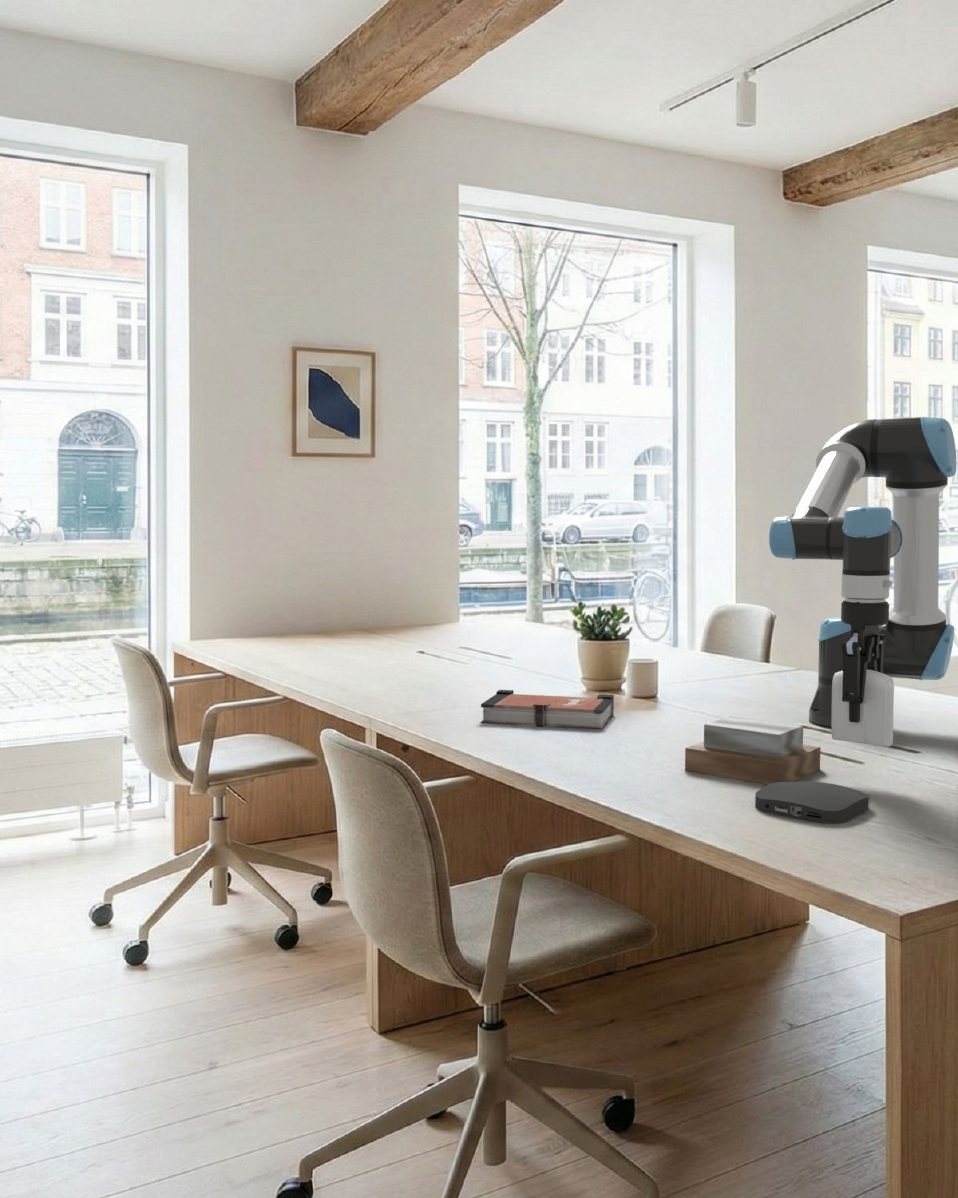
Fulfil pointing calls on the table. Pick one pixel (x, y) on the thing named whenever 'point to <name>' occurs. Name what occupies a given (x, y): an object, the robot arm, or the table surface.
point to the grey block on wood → (753, 751)
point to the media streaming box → (812, 801)
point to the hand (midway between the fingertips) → (861, 737)
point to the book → (548, 710)
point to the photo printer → (877, 709)
